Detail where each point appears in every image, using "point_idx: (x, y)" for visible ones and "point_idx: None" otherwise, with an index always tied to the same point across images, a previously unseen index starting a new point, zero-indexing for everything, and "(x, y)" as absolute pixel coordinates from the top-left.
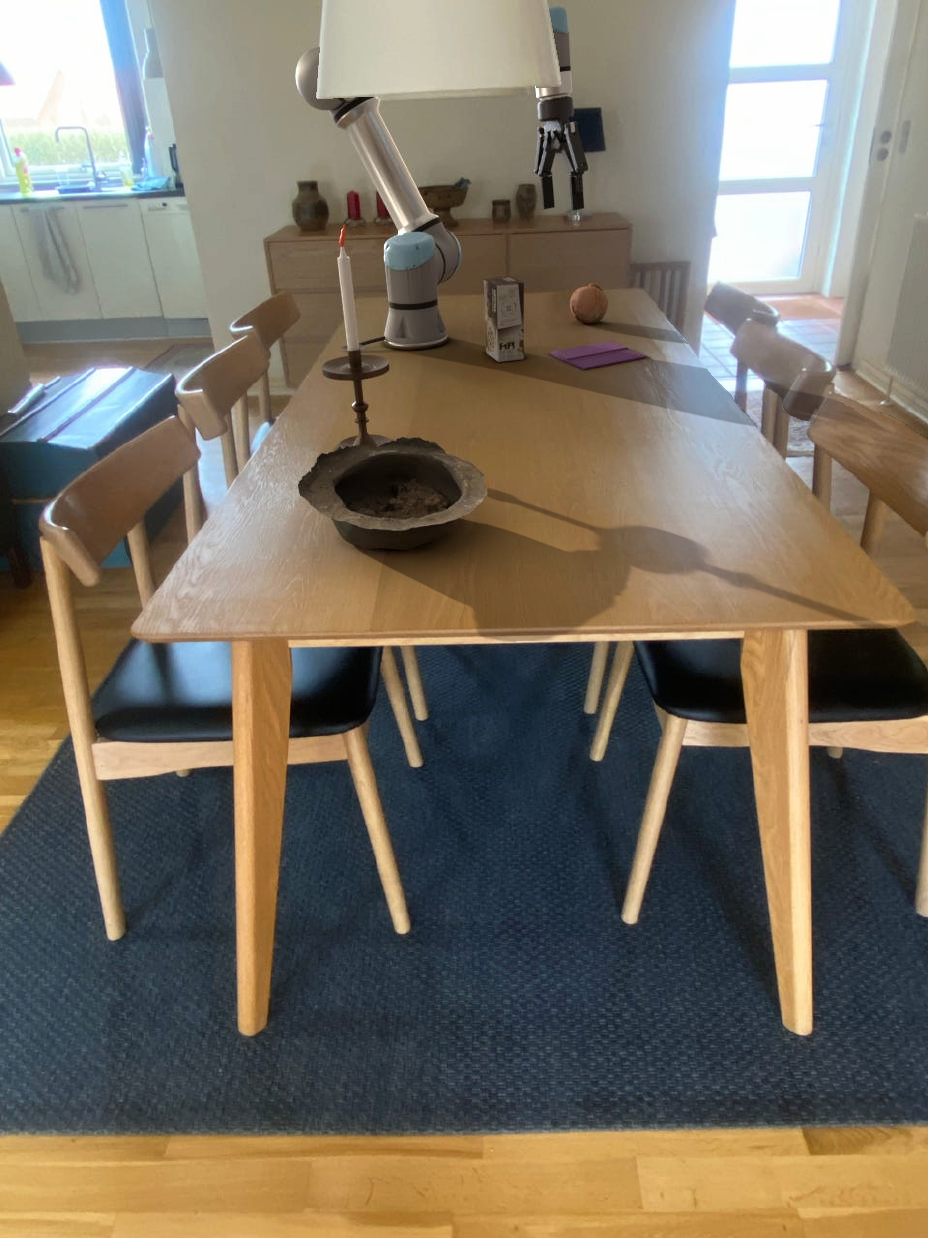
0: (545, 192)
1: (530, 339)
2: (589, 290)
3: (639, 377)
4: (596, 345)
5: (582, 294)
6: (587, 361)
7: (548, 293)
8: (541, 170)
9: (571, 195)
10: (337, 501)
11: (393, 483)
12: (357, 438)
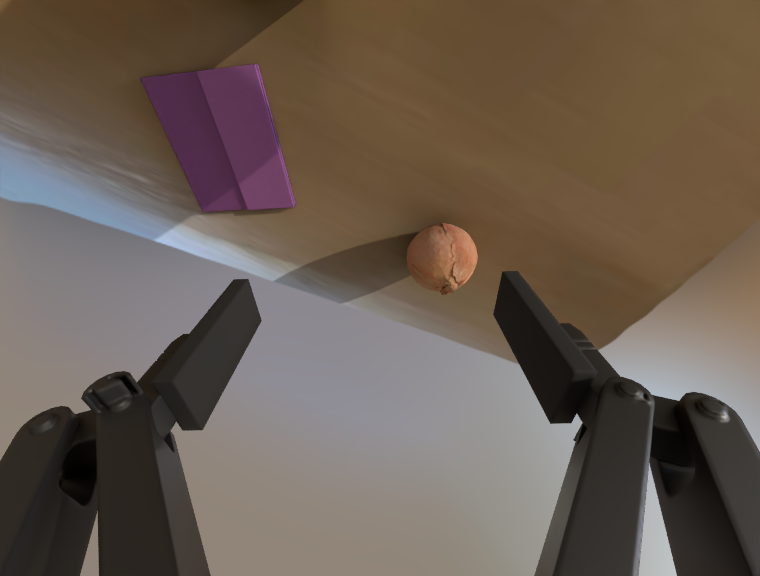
0: (528, 324)
1: (388, 81)
2: (427, 264)
3: (96, 145)
4: (272, 171)
5: (429, 249)
6: (183, 106)
7: (671, 286)
8: (602, 414)
9: (214, 313)
10: None
11: None
12: None
